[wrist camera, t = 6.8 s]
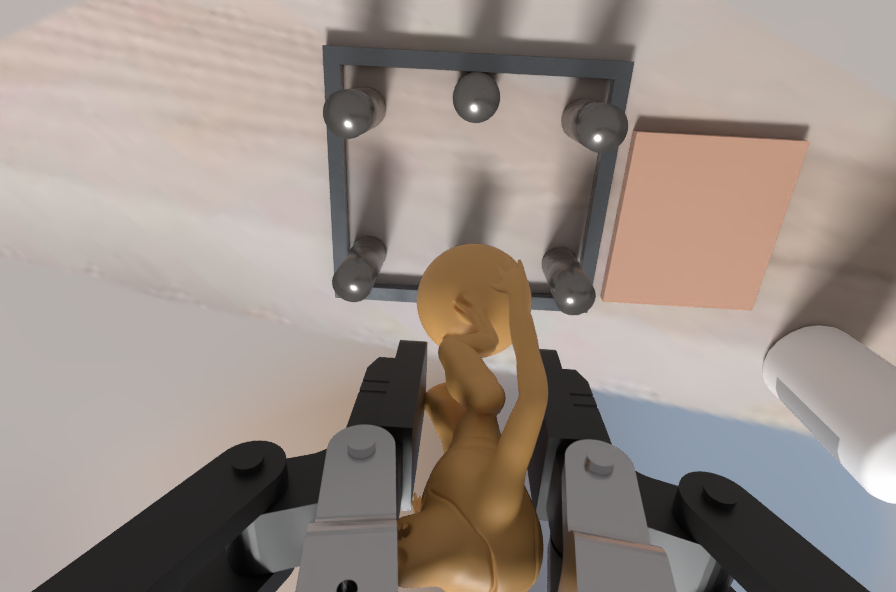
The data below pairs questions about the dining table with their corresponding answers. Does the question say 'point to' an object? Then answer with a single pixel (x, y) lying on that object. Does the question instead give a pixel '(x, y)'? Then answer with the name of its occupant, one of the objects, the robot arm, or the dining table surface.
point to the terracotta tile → (699, 218)
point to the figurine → (477, 431)
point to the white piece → (840, 400)
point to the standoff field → (475, 104)
